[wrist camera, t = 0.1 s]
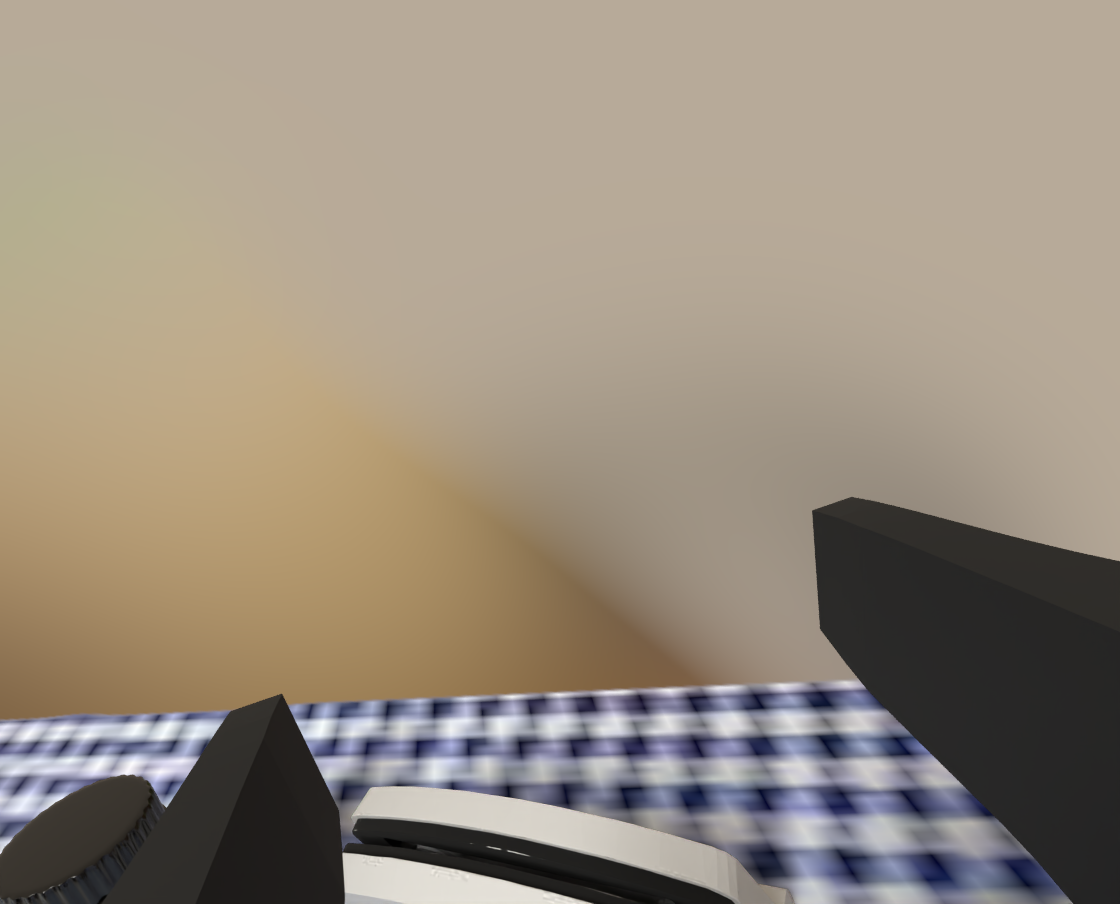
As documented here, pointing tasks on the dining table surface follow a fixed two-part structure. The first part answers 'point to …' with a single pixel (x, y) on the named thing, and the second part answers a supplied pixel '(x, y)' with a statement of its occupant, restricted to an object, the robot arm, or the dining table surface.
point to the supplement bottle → (80, 844)
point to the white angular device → (527, 856)
